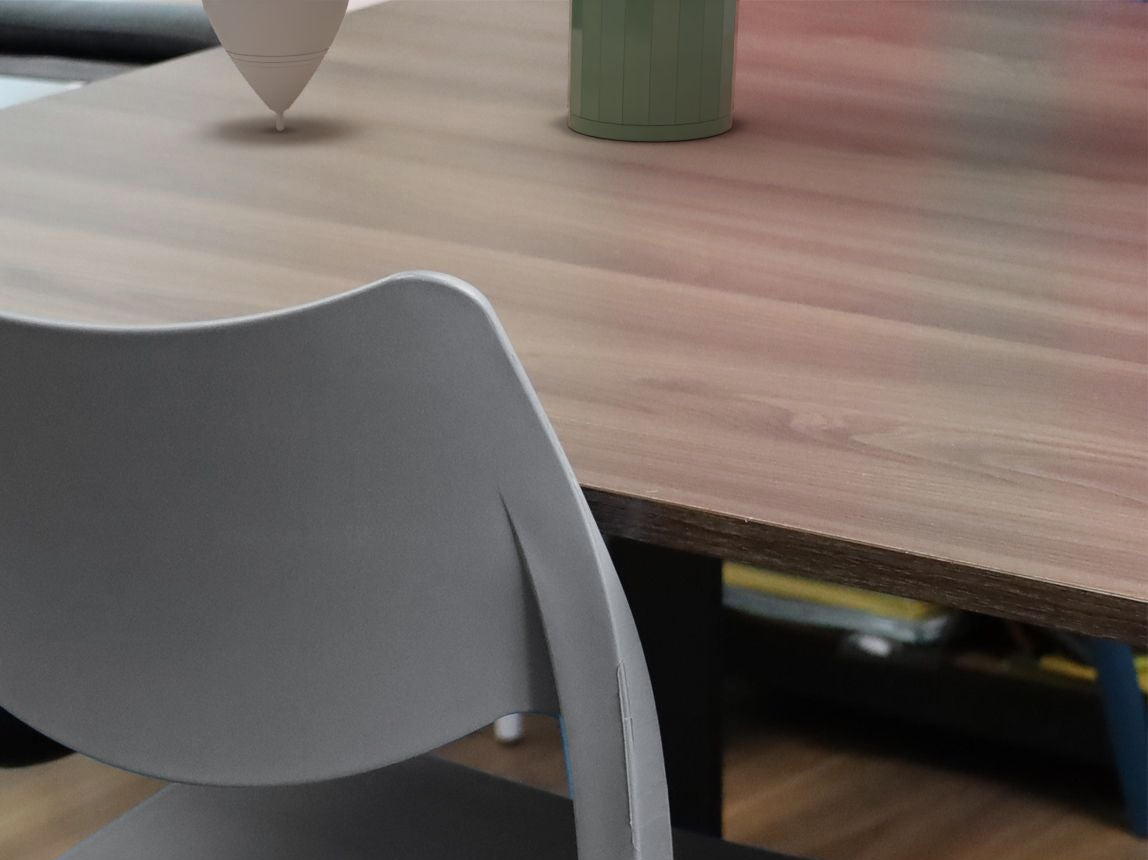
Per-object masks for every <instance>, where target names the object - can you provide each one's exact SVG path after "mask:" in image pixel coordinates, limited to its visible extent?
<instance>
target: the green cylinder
mask: <svg viewBox="0 0 1148 860" xmlns="http://www.w3.org/2000/svg"><path fill="white" fill-rule="evenodd" d="M739 17H740V0H568V49H567V94H566V95H567V97H566V98H567V99H566V100H567V101H566V102H567V103H566V108H567V125H568V127H569V129H570V130H573V132H577V133H578V134H582V135H586V136H590V137H595V138H600V139H606V140H616V141H627V142H678V141H689V140H697V139H704V138H710V137H714V136H718V135H721V134H723V133H726V132H727V131H729V130H731V129H732V128H733V120H734V117H733V116H734V110H735V97H736V96H735V95H736V79H737V77H736V76H737V57H738V56H737V55H738V36H739V19H740V18H739Z"/></svg>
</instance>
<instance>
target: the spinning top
mask: <svg viewBox="0 0 1148 860" xmlns="http://www.w3.org/2000/svg"><path fill="white" fill-rule="evenodd" d="M201 2H202V3H201V4H202V7H203V10H204V13H205V14H206V17H207V19H208V21H209V24H210V25H211V27H212V30H213V31H214V33H215V35H216V37H217V39H218V41H219V43H220V44H221V46H222V48H223V49H224V51H225V52H226V53H227V55H228V57H229V59H230V60H231V62H232V63H233V64H234V66H235V67H236V68H237V70H238V71H239V73H240V74H241V76H242V77H243V78H244V80H245V81H246V82H247V84H248V85H249V86H250V87H251V89H252V90H253V91H254V93H255V94H256V95H257V96H258V97H259V99H260V100H261V101H262V102H263V103H264V104H265V105H266V107H268V109H269V110H271V111H273V112H274V113H275V128H276V130H277V131H279V132H280V131H281V132H282V131H283V130H284V129H285V128H284V125H285V124H284V113H285V112H286V111H287V110H289V109H290V108H291V107H292V105H294V103H295V101H296V100H297V99H298V98H299V97H300V95H301V94H302V92H303V91H304V90H305V88H306V87H307V85H308V84H309V83H310V81H311V80H312V77H313V76H314V75H315V73H316V72H317V69H318V68H319V66H320V65H321V63H322V61H323V60H324V58H325V56H326V55H327V53H328V51H329V50H330V48H331V47H332V45H333V43H334V41H335V38H336V36H337V34H338V31H339V30H340V27H341V24H342V23H343V21H344V18H345V15H346V12H347V10H348V5H349V2H350V0H201Z"/></svg>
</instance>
